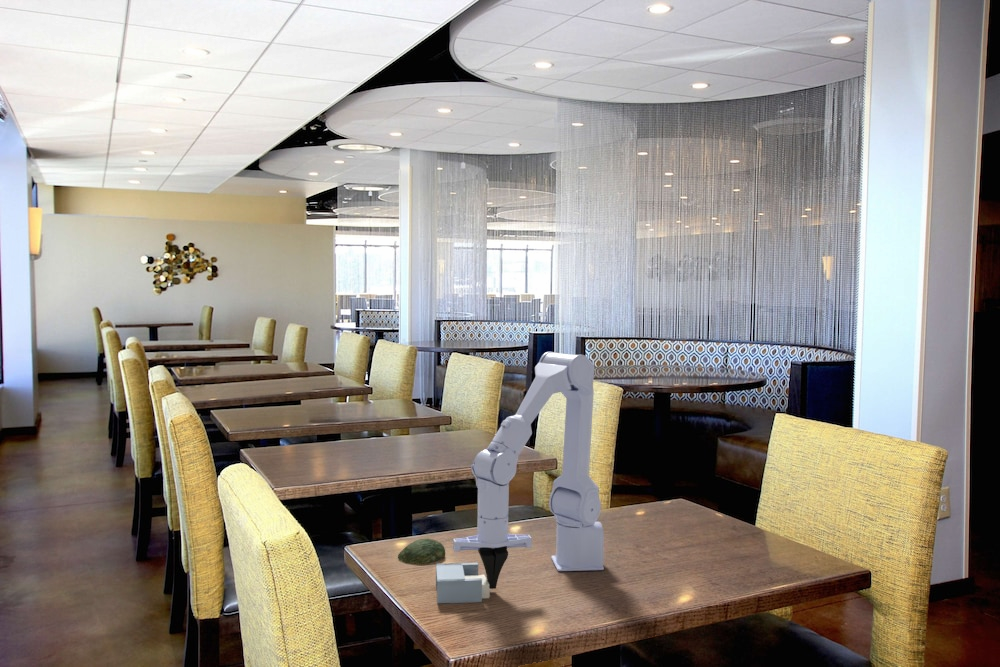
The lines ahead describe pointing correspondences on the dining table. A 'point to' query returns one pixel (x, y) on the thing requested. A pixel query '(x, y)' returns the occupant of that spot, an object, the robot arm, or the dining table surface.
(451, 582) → the bracket
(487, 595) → the cream rectangular block
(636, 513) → the dining table surface
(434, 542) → the seashell
